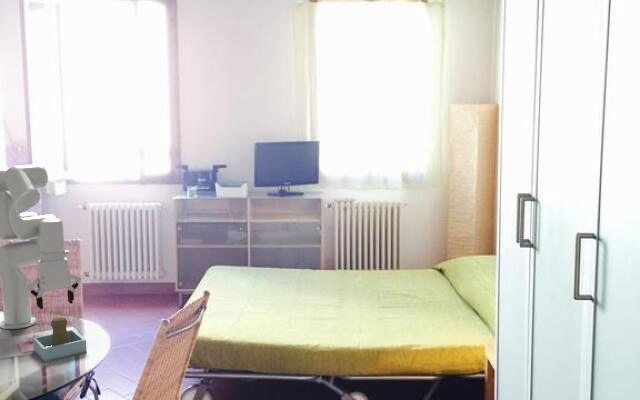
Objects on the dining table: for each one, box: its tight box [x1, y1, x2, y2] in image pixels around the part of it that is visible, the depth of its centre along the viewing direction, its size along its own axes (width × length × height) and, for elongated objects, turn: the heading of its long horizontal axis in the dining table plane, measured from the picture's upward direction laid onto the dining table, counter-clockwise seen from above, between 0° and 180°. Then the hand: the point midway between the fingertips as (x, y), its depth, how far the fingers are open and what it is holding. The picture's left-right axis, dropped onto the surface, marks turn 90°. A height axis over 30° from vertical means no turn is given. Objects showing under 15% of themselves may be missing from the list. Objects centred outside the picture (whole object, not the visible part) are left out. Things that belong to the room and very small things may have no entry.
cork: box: [50, 316, 69, 346], centre depth 226 cm, size 6×6×11 cm
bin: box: [32, 329, 87, 363], centre depth 226 cm, size 14×14×4 cm
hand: (55, 305), depth 225 cm, fingers open, 9 cm apart
